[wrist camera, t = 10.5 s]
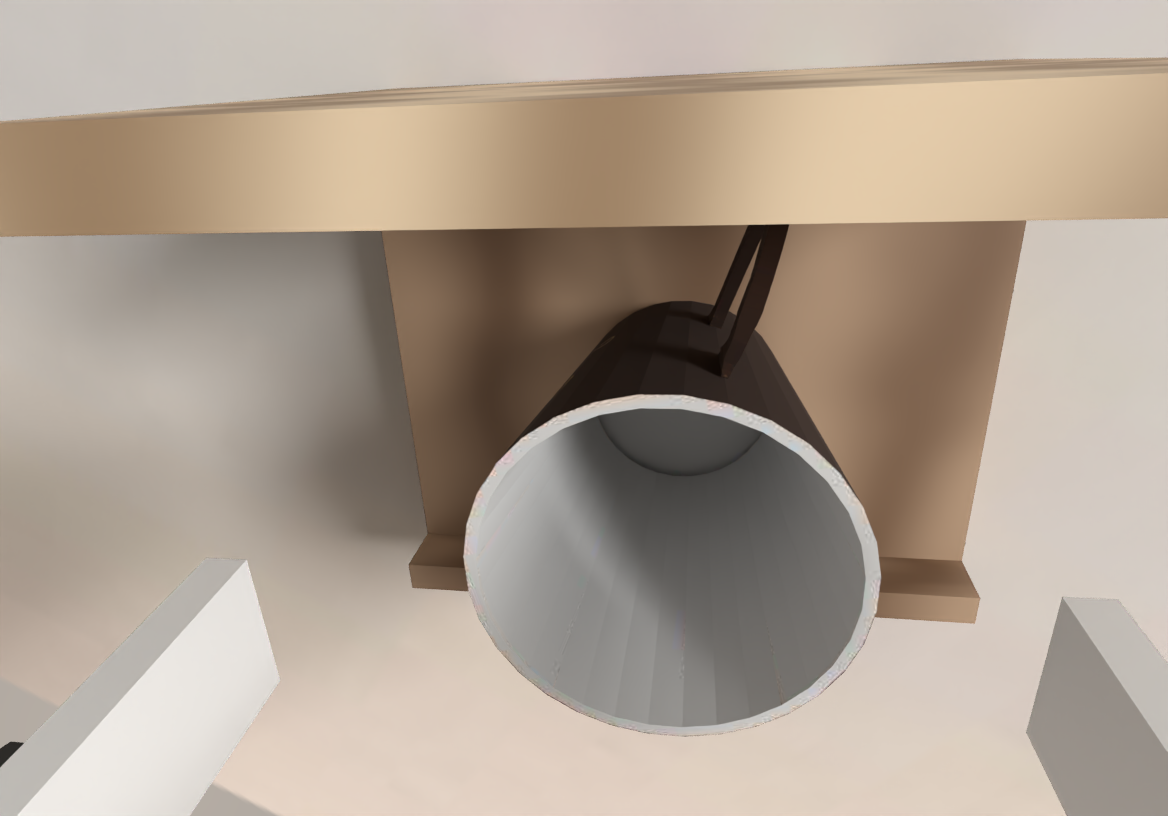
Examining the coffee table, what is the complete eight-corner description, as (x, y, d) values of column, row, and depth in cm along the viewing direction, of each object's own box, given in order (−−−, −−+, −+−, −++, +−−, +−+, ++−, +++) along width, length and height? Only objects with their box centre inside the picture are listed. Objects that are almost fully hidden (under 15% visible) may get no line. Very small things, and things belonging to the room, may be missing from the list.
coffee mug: (689, 550, 27) (677, 791, 18) (502, 400, 26) (390, 579, 17) (957, 320, 22) (1119, 492, 13) (744, 122, 21) (767, 166, 12)
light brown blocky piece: (451, 520, 31) (229, 906, 17) (392, 88, 25) (-58, 126, 10) (937, 543, 28) (1167, 1038, 14) (1021, 59, 22) (1629, 52, 7)
